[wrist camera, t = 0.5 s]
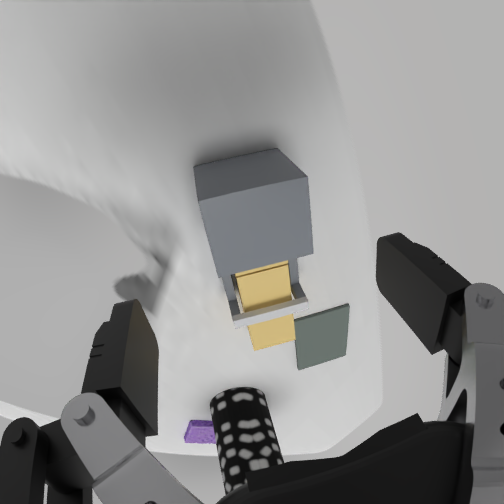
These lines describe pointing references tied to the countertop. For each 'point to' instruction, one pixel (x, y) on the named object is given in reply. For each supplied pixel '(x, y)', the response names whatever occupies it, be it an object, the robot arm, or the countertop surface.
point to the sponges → (200, 432)
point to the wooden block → (267, 304)
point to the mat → (321, 336)
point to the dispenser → (256, 223)
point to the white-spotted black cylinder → (243, 434)
